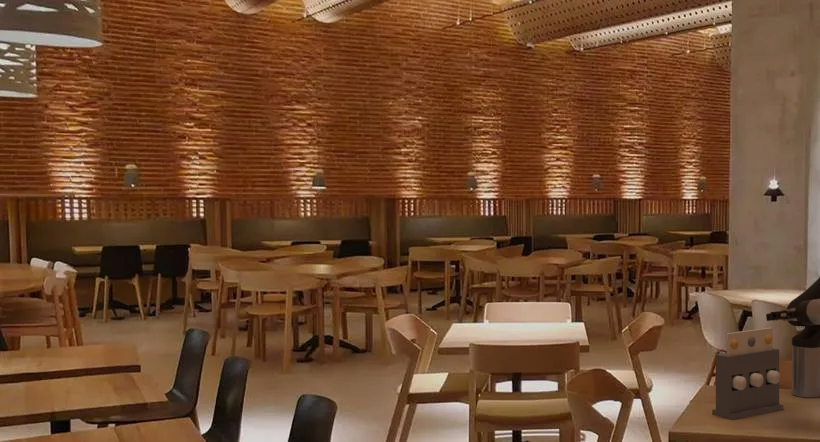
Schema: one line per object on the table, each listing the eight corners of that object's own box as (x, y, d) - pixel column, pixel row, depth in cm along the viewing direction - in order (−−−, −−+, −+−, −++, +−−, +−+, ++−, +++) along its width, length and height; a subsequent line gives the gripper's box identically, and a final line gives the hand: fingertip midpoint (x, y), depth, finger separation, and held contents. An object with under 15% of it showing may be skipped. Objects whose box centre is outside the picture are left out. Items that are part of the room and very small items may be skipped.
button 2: (772, 381, 280) (772, 368, 280) (780, 383, 278) (780, 370, 278) (763, 383, 278) (763, 370, 278) (771, 384, 276) (771, 371, 276)
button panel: (762, 404, 286) (762, 346, 286) (783, 409, 279) (783, 349, 279) (712, 414, 275) (711, 353, 274) (732, 419, 268) (732, 357, 267)
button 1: (738, 387, 273) (738, 374, 273) (746, 389, 270) (746, 376, 270) (729, 389, 271) (729, 375, 271) (737, 390, 268) (737, 377, 268)
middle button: (755, 384, 277) (755, 371, 276) (763, 386, 274) (763, 373, 274) (746, 386, 275) (746, 373, 274) (754, 387, 272) (754, 374, 272)
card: (771, 348, 281) (770, 327, 281) (773, 349, 280) (773, 328, 280) (726, 355, 271) (726, 333, 271) (729, 356, 270) (729, 333, 270)
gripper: (834, 298, 258) (794, 304, 273) (797, 300, 254) (758, 305, 269) (838, 323, 257) (797, 328, 272) (800, 325, 252) (761, 329, 267)
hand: (778, 316), depth 270 cm, fingers open, 8 cm apart
